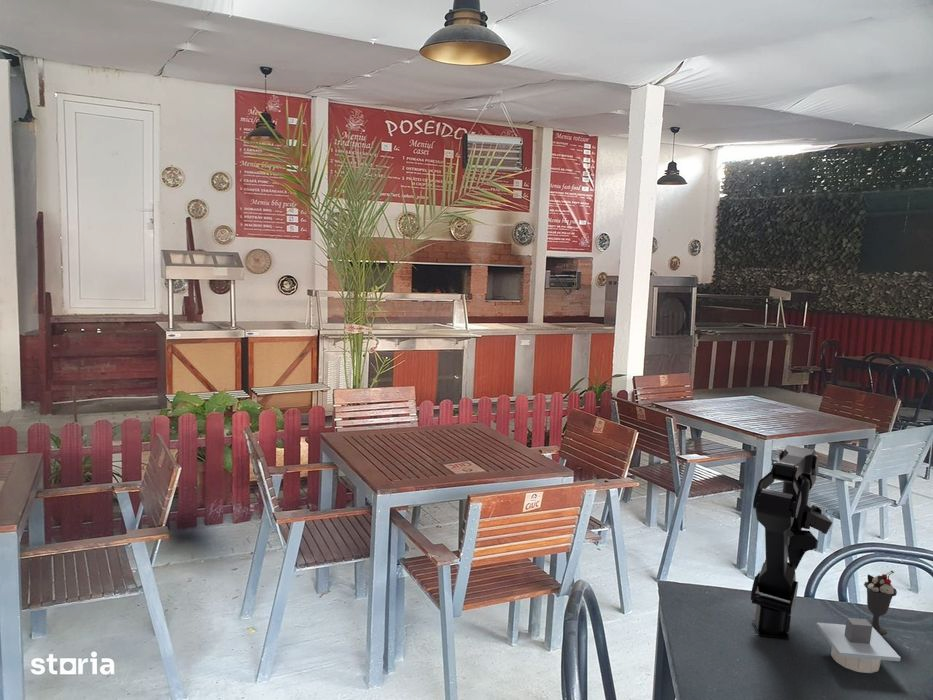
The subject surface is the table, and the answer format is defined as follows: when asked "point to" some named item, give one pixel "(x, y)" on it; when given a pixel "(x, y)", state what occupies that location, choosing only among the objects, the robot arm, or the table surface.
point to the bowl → (857, 663)
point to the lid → (857, 640)
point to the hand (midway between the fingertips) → (787, 561)
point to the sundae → (879, 598)
